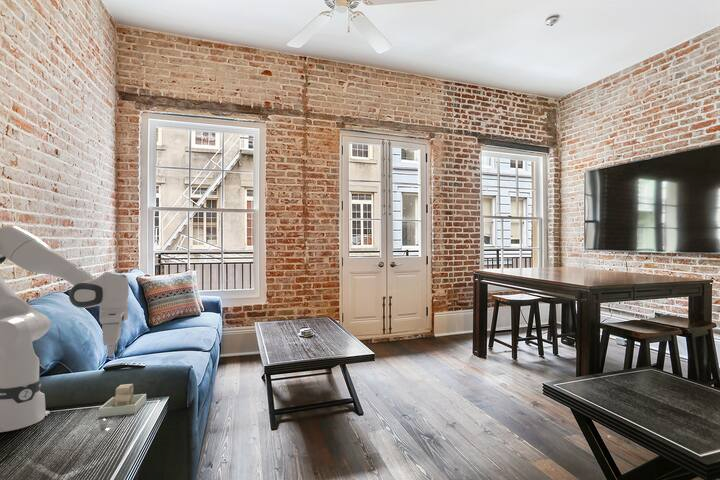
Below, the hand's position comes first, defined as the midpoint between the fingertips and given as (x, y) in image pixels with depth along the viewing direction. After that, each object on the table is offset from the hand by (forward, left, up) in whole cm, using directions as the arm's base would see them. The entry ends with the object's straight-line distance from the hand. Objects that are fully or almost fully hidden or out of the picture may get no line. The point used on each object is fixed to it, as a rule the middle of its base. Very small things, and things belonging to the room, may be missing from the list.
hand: (112, 353), depth 136 cm
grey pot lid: (+10, -8, -23) cm, 27 cm away
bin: (-2, +5, -23) cm, 24 cm away
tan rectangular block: (-1, +5, -23) cm, 23 cm away
